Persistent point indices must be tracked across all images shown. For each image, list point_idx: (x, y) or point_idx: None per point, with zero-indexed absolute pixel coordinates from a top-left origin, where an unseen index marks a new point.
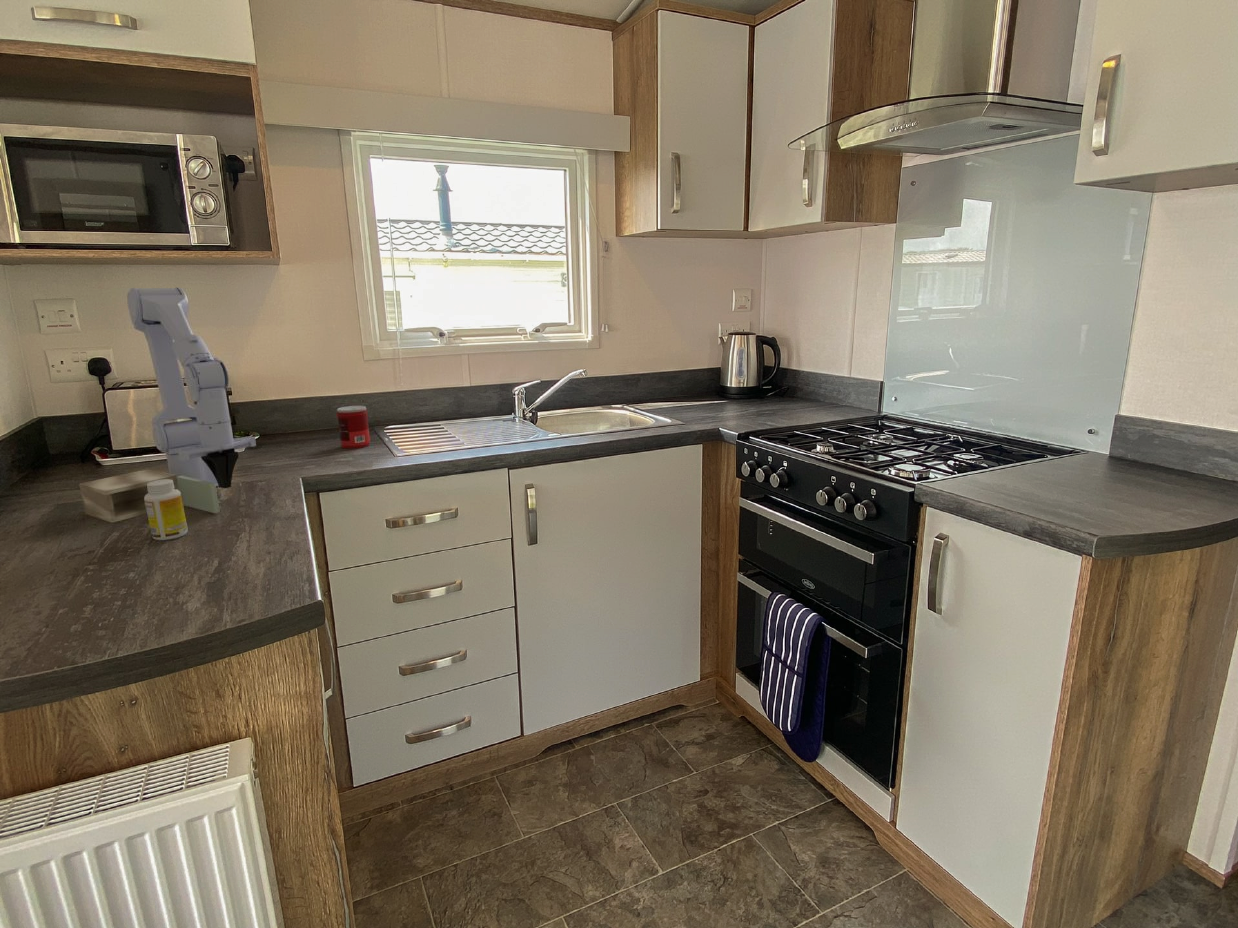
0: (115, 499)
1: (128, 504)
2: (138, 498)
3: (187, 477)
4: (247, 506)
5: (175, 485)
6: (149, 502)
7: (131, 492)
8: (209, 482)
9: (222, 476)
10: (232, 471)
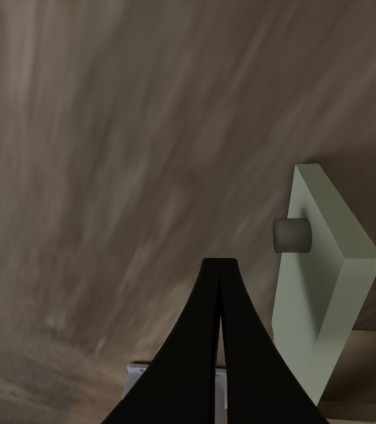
0: (357, 415)
1: (349, 388)
2: None
3: None
4: (179, 158)
5: None
6: None
7: None
8: (340, 294)
9: (250, 309)
10: (181, 320)
